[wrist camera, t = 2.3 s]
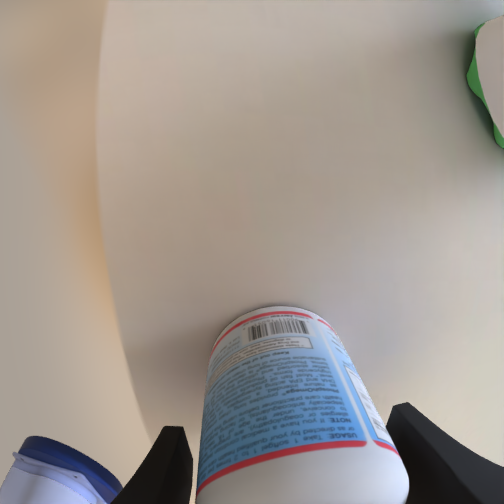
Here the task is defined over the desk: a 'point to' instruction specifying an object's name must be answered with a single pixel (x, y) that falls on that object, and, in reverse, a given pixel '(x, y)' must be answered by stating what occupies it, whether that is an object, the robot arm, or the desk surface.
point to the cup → (490, 72)
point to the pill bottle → (291, 419)
